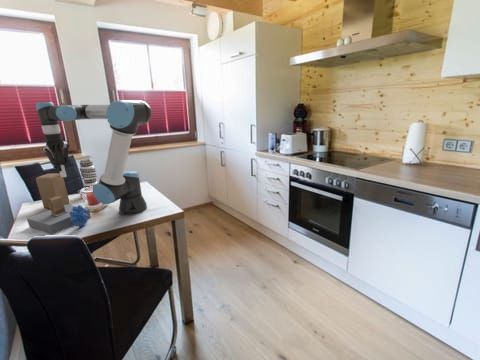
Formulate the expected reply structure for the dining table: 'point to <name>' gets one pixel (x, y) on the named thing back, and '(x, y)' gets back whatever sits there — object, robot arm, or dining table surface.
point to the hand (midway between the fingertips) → (63, 176)
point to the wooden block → (52, 188)
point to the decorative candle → (88, 172)
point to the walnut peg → (56, 206)
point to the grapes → (78, 216)
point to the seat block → (53, 221)
